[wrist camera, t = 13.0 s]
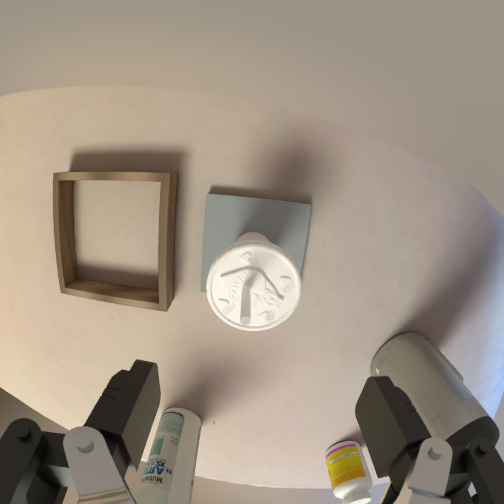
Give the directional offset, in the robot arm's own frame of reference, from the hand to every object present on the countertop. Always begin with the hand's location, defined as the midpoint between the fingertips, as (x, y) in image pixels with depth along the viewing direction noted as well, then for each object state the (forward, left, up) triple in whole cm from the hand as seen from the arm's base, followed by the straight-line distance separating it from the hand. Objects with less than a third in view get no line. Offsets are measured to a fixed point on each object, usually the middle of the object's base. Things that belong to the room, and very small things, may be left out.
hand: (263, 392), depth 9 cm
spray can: (+8, +28, -20) cm, 35 cm away
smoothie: (0, 0, -19) cm, 19 cm away
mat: (0, 0, -20) cm, 20 cm away
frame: (+15, 0, -20) cm, 25 cm away
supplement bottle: (-20, +36, -20) cm, 46 cm away
